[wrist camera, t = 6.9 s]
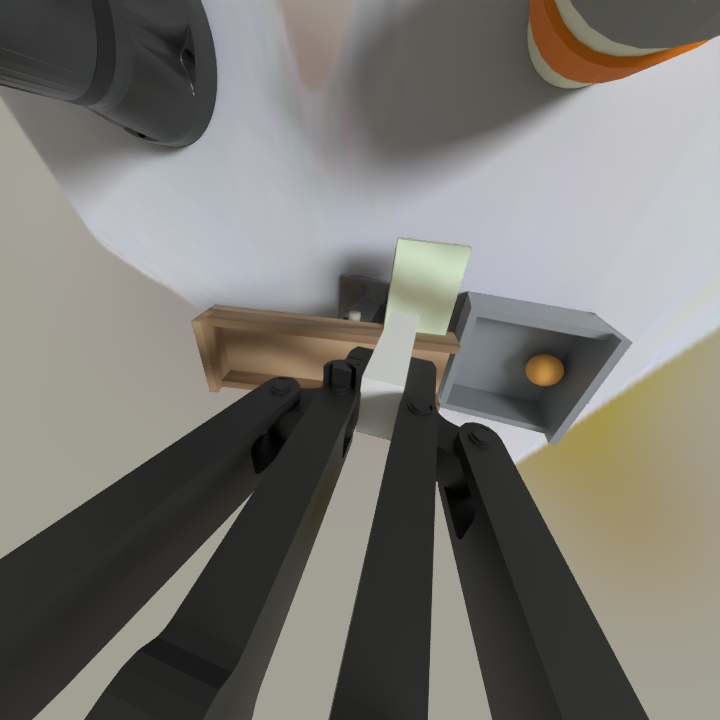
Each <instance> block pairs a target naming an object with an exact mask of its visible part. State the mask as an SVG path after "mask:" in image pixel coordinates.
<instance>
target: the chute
mask: <svg viewBox="0 0 720 720" xmlns="http://www.w3.org/2000/svg"><path fill="white" fill-rule="evenodd" d="M471 249H472V247H470V246H469V245H460V244H452V243H443V242H434V241H426V240H417V239H408V238H400V237H397V244H396V250H395V256H394V263H393V269H392V275H391V281H390V288H389V294H388V300H387V307H386V313H385V319H384V324H379V323H370V322H361V321H360V317H361V312H359V311H355V310H352V311H349V319H348V320H344V319H335V318H327V317H318V316H309V315H301V314H292V313H283V312H275V311H266V310H257V309H249V308H240V307H231V306H223V305H214V306H212V307H211V308H209V309H208V310H206V311H205V312H204V313H202V314H201V315H199V316H198V317H196V318H195V319H193V320H192V326H193V329H194V334H195V337H196V341H197V345H198V348H199V352H200V356H201V359H202V363H203V367H204V370H205V374H206V378H207V382H208V385H209V389H210V392H216V393H218V392H219V390H220V389H221V388H222V387H230V388H239V389H247V390H254V389H256V388H257V387H259V386H260V385H262V384H263V383H265V382H266V381H268V380H270V379H272V378H275V377H280V376H283V377H291V378H294V379H295V380H297V381H298V383H299V385H300V388H319V387H322V385H323V367H324V365H325V364H326V363H327V362H329V361H332V360H338V359H342V360H345V359H346V357H347V356H348V354H349V352H350V351H351V350H352V349H354V348H356V347H357V346H360V347H365V348H369V349H374V350H375V348H376V345H377V343H378V341H379V339H380V337H381V335H382V332H383V330H384V328H385V326H386V324H387V322H388V319H389V317H390V315H391V313H392V311H397V312H403V313H408V314H413V315H418V316H419V321H418V326H417V331H416V335H415V340H414V345H413V350H412V354H411V357H414V358H419V359H424V360H428V361H432V362H433V363H434V365H435V366H436V368H437V374H436V396H435V406H436V407H437V410H438V411H439V408H440V403H439V400H438V396H437V392H438V389H439V386H440V383H441V380H442V377H443V373H444V370H445V367H446V364H447V361H448V358H449V355H450V353H451V354H459V351H460V348H461V346H460V344H459V342H458V340H457V338H456V337H455V335H454V333H453V332H448V331H447V328H448V325H449V322H450V318H451V315H452V312H453V309H454V305H455V302H456V299H457V295H458V292H459V289H460V286H461V282H462V279H463V276H464V272H465V269H466V266H467V262H468V259H469V256H470V253H471Z"/></svg>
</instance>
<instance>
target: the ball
mask: <svg viewBox="0 0 720 720" xmlns="http://www.w3.org/2000/svg"><path fill="white" fill-rule="evenodd" d="M525 372H526V375H527V377H528V379H529V380H530V381H531V382H533V383H535V384H537V385H540V386H550V385H553V384H556V383H557V382H559V381H560V380H561V378H562V377H563V375H564V366H563V364H562V362H561V361H560V360H559V359H558V358H556V357H555V356H552V355H548V354H540V355H536V356H534V357H533V358H531V359H530V360H529V361H528V362H527V364H526V368H525Z"/></svg>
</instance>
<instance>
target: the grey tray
mask: <svg viewBox="0 0 720 720" xmlns="http://www.w3.org/2000/svg"><path fill="white" fill-rule="evenodd" d="M454 335H455V337H456V338H457V340H458V342H459V344H460V346H461V348H460V351H459V354H451V353H450V355H449V358H448V361H447V364H446V367H445V370H444V373H443V377H442V380H441V383H440V386H439V389H438V400H439V403H440V407H441V408H445V409H449V410H453V411H457V412H461V413H465V414H469V415H473V416H477V417H481V418H485V419H489V420H493V421H497V422H501V423H505V424H509V425H513V426H517V427H521V428H525V429H529V430H533V431H537V432H541V433H544V434H545V436H546V439H547V441H548V443H549V444H554V445H557V443H558V442H559V441H560V440H561V438H562V437H563V436H564V434H565V433H566V432H567V430H568V429H569V427H570V426H571V425H572V423H573V422H574V421H575V419H576V418H577V417H578V415H579V414H580V413H581V411H582V410H583V409H584V407H585V406H586V405H587V403H588V402H589V401H590V399H591V398H592V397H593V395H594V394H595V392H596V391H597V390H598V388H599V387H600V386H601V384H602V383H603V382H604V380H605V379H606V378H607V376H608V375H609V374H610V372H611V371H612V370H613V368H614V367H615V366H616V364H617V363H618V362H619V360H620V359H621V357H622V356H623V355H624V353H625V352H626V351H627V349H628V348H629V347H630V345H631V344H632V343H633V342H631V341H630V340H629V339H627V338H626V337H625V336H624V335H622V334H621V333H620V332H618V331H617V330H616V329H614V328H613V327H612V326H610V325H609V324H608V323H606V322H605V321H604V320H602V319H601V318H600V317H599V316H597V315H596V314H595V313H590V312H584V311H578V310H573V309H567V308H561V307H555V306H549V305H544V304H538V303H532V302H526V301H521V300H515V299H509V298H503V297H497V296H492V295H486V294H480V293H474V292H467V296H466V299H465V302H464V305H463V308H462V311H461V314H460V317H459V320H458V323H457V327H456V330H455V333H454ZM540 354H548V355H552V356H555V357H556V358H558V359H559V360H560V361H561V362H562V364H563V366H564V375H563V377H562V378H561V380H560V381H559V382H557V383H556V384H553V385H550V386H540V385H537V384H535V383H533V382H531V381H530V380H529V379H528V377H527V375H526V372H525V368H526V364H527V362H528V361H529V360H530V359H531V358H533V357H534V356H536V355H540Z"/></svg>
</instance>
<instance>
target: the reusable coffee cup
mask: <svg viewBox="0 0 720 720" xmlns="http://www.w3.org/2000/svg"><path fill="white" fill-rule="evenodd" d="M719 35H720V0H529V21H528V29H527V38H528V50H529V54H530V59H531V61H532V63H533V66H534V68H535V70H536V71H537V73H538V74H539V75H540V76H541V77H542V78H543V80H545V81H547V82H548V83H550V84H551V85H553V86H557V87H561V88H580V87H584V86H589V85H591V84H594V83H604V82H609V81H613V80H618V79H622V78H625V77H627V76H630V75H632V74H634V73H637V72H639V71H642V70H644V69H647V68H649V67H651V66H654V65H656V64H659V63H661V62H664V61H666V60H668V59H671V58H673V57H676V56H678V55H680V54H683V53H685V52H687V51H690V50H692V49H694V48H697V47H699V46H700V45H702V44H704V43H705V42H707V41H709V40H711V39H712V38H714V37H717V36H719Z"/></svg>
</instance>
